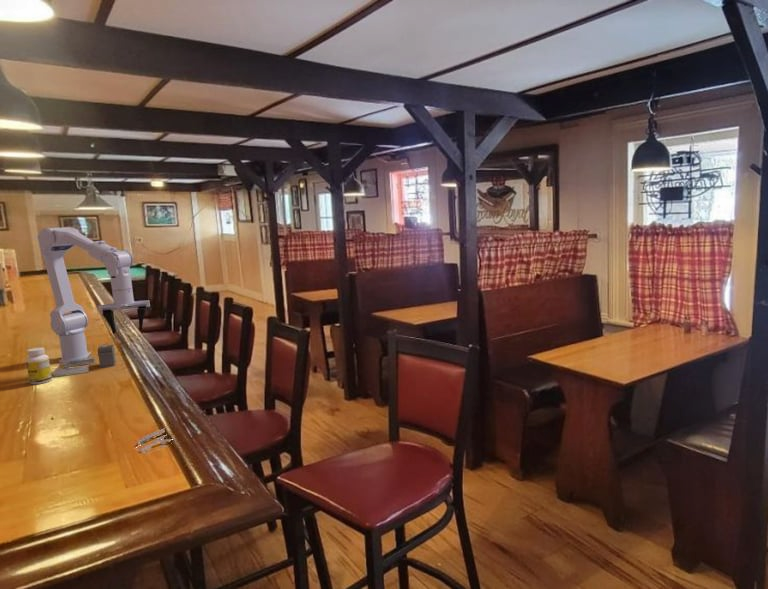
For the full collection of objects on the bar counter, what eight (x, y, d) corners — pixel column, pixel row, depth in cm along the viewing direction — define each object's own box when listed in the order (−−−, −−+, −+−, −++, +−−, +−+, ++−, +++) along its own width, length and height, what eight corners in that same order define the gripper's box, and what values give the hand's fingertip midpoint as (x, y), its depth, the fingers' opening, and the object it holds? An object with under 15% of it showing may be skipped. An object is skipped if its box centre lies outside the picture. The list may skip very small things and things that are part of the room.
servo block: (102, 363, 165) (99, 343, 164) (116, 361, 166) (113, 341, 165) (99, 368, 159) (96, 347, 158) (113, 366, 161) (110, 345, 160)
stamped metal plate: (167, 434, 106) (166, 427, 106) (185, 441, 102) (184, 434, 102) (129, 448, 100) (128, 441, 100) (146, 457, 96) (145, 449, 96)
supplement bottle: (25, 383, 147) (20, 350, 145) (45, 378, 151) (40, 346, 150) (36, 385, 144) (31, 352, 143) (56, 380, 149) (51, 347, 147)
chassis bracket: (63, 366, 164) (62, 359, 164) (95, 361, 167) (94, 355, 167) (54, 377, 152) (53, 370, 152) (88, 372, 155) (87, 365, 155)
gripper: (94, 293, 155) (100, 336, 157) (146, 288, 160) (151, 330, 162) (98, 290, 162) (104, 332, 164) (148, 286, 167) (153, 326, 169)
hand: (128, 331), depth 163 cm, fingers open, 7 cm apart
